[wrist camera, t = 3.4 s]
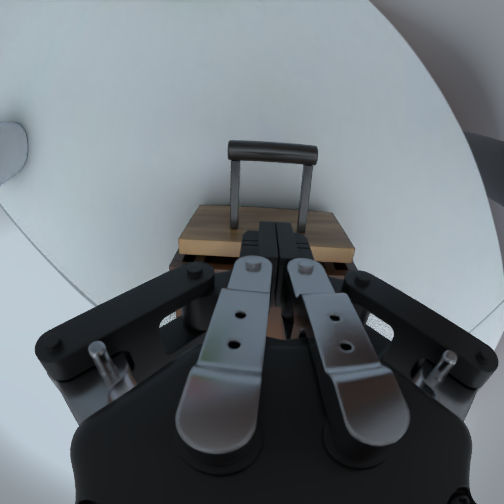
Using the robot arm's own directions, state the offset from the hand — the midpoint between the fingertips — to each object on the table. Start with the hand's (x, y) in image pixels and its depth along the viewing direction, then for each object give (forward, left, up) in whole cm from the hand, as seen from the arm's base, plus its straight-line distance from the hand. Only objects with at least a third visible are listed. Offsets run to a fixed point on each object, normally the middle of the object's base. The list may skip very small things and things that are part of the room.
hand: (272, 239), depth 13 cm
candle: (+32, -6, -13) cm, 35 cm away
